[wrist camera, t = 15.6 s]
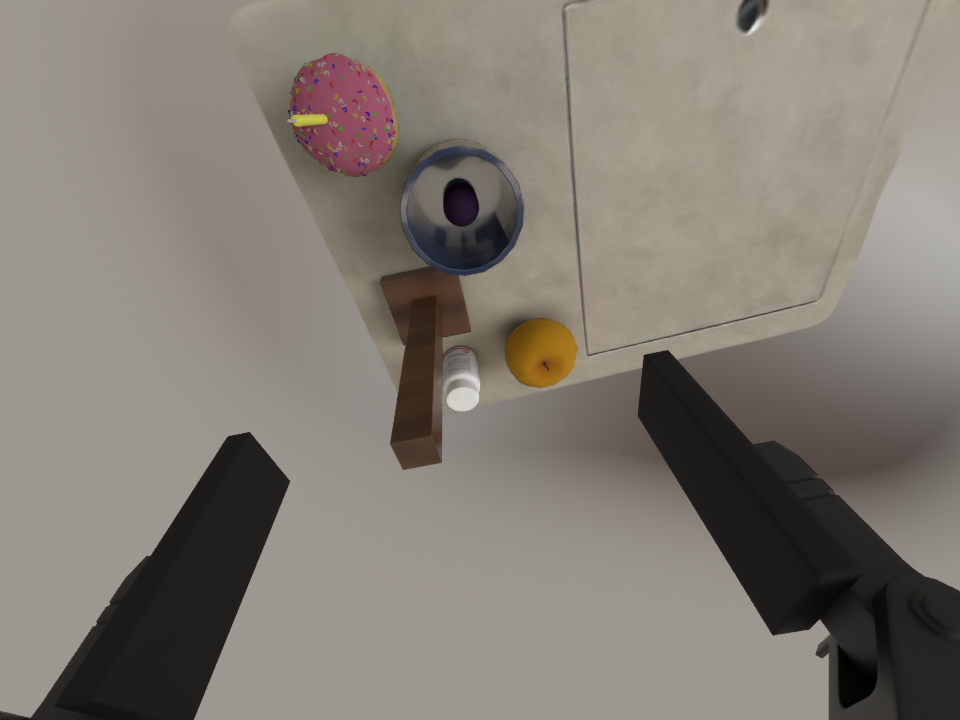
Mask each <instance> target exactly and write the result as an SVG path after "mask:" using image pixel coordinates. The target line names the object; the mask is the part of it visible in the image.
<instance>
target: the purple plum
mask: <svg viewBox="0 0 960 720" xmlns="http://www.w3.org/2000/svg"><path fill="white" fill-rule="evenodd" d="M443 210H444V214H445V216H446V218H447V220H448V221H449V222H450V223H452V224H453V225H455V226H459V227H464V226H468V225H470V224H471V223H473V222H474V221H475V219H476V218H477V216H478V213H479V202H478V199H477V196H476V193H475V191H474V190H473V189H472V188H471V187H470V186H469V185H467V184H465V183H455V184H453V185H451V186H450V187H449V188H448V189H447V190H446V192H445V194H444V197H443Z"/></svg>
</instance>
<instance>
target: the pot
mask: <svg viewBox="0 0 960 720" xmlns="http://www.w3.org/2000/svg"><path fill="white" fill-rule="evenodd" d="M455 183H465V184H467V185H469V186H470V187H471V188H472V189H473V190H474V191H475V193H476V196H477V199H478V202H479V213H478V216H477V218H476V219H475V221H474V222H473V223H471V224H470V225H468V226H464V227H459V226H455V225H453V224H452V223H450V222H449V221H448V220H447V218H446V216H445V214H444V210H443V197H444V194H445V192H446V190H447V189H448V188H449V187H450V186H451V185H453V184H455ZM523 212H524V202H523V199H522V195H521V192H520V188H519V184H518V182H517V180H516V178H515V177H514V176H513V174H512V173H511V172H510V170H509V169H508V167H507V166H506V165H505V163H504V162H503V161H502V160H501V159H500V158H499V157H498V156H497V155H496V154H495V153H494V152H492V151H491V150H489V149H488V148H486V147H485V146H483V145H481V144H480V143H478V142H473V141H470V140H464V139H454V140H448V141H444V142H441V143H438V144H436V145H435V146H433V147H432V148H430V149H429V150H427V151H426V152H425V153H424V154H422V155H421V156H420V158H419V160H418V161H417V163H416V164H415V166H414V167H413V169H412V171H411V172H410V174H409V176H408V178H407V181H406V183H405V185H404V190H403V194H402V199H401V204H400V214H401V221H402V229H403V232H404V234H405V236H406V238H407V240H408V242H409V244H410V246H411V248H412V249H413V251H414V252H415V253H416V254H417V255H418V256H419V257H420V258H421V259H422V260H423V261H424V262H425V263H426V264H428V265H430V266H432V267H434V268H436V269H438V270H440V271H442V272H444V273H447V274H455V275H463V276H466V275H471V274H476V273H481V272H484V271H486V270H488V269H490V268H491V267H493V266H495V265H496V264H498V263H500V262H501V261H502V260H503V259H504V258H505V257H506V255H507V254H508V253H509V252H510V251H511V250H512V248H513V247H514V246H515V244H516V241H517V239H518V236H519V234H520V231H521V229H522V226H523Z"/></svg>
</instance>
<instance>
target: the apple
mask: <svg viewBox="0 0 960 720" xmlns="http://www.w3.org/2000/svg"><path fill="white" fill-rule="evenodd" d="M576 353H577V346H576V343H575V340H574V337H573V336H572V334H571V333H570V331H569V330H568V329H567V328H566V327H565V326H564V325H562V324H560V323H558V322H556V321H553V320H549V319H544V318H539V319H531V320H528V321H526V322H524V323H523V324H521V325H520V326H518V327H517V328H516V329H515V330H514V331H513V332H512V333H511V334H510V336H509V338H508V340H507V342H506V347H505V358H506V363H507V366H508V368H509V369H510V371H511V373H512V374H513V375H514V377H515V378H516V379H517V380H518V381H519V382H520V383H522V384H524V385H527V386H530V387H539V388H542V387H547V386H552V385H554V384H556V383H557V382H559V381H560V380H562V379H563V378H565V377H566V376H567V375H568V374H569V373H570V372H571V370H572V368H573V367H574V363H575V360H576Z"/></svg>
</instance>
